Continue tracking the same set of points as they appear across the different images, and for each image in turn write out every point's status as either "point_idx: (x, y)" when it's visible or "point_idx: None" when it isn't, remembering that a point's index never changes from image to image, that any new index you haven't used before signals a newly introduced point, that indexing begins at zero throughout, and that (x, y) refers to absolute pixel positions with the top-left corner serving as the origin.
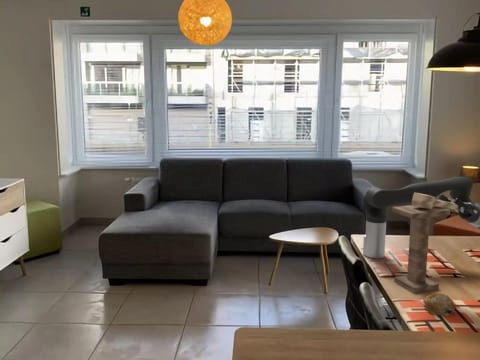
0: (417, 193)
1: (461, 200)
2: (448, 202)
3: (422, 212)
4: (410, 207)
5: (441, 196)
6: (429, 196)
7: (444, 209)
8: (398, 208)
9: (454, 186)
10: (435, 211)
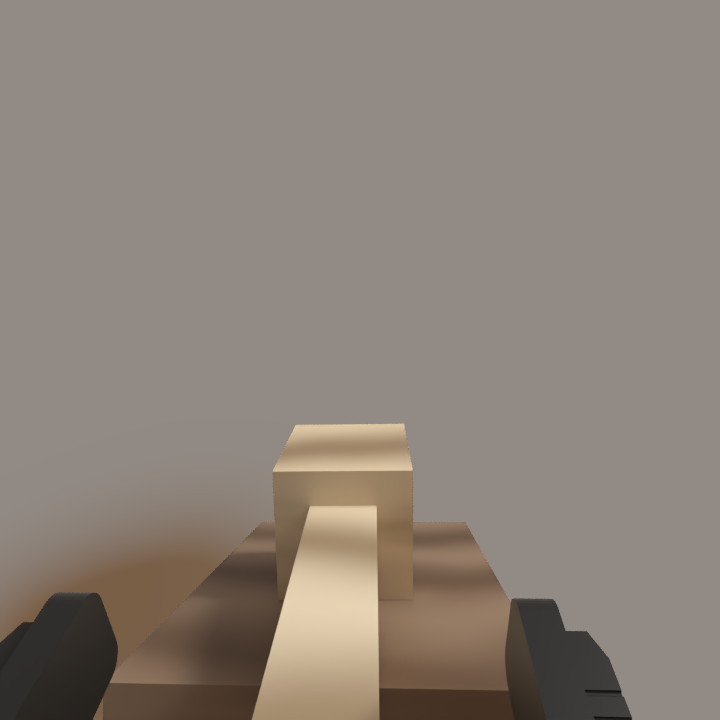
0: (360, 425)
1: None
2: (259, 695)
3: (246, 546)
4: (415, 554)
5: (511, 640)
6: (284, 452)
7: (181, 656)
8: (414, 525)
9: None
10: (199, 587)
